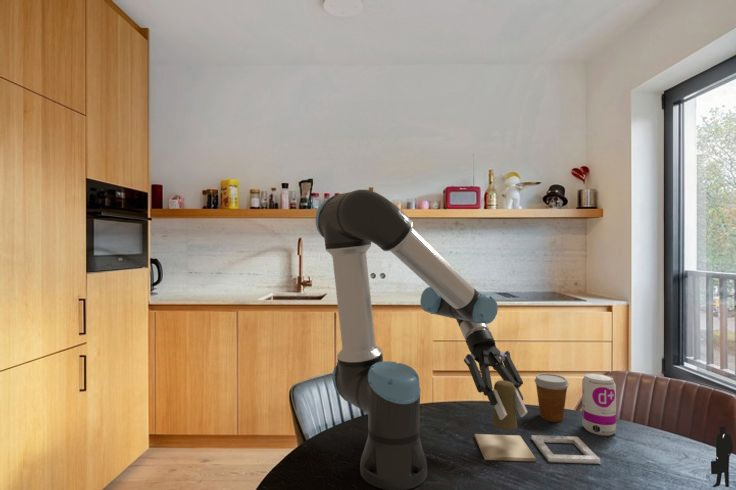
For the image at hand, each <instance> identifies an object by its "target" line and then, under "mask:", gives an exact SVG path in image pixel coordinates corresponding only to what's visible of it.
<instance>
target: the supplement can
mask: <svg viewBox="0 0 736 490" xmlns="http://www.w3.org/2000/svg"><path fill="white" fill-rule="evenodd" d="M581 381H582V382H581V385H582V386H581V389H582V390H581V395H582V396H581V399H582V400H581V401H582V402H581V403H582V405H581V406H582V410H581V411H582V413H581V414H582V415H581V416H582V418H581V420H582V421H581V423H582V427H583V428H584V429H585V430H586V431H587V432H589V433H591V434H594V435H598V436H604V437H606V436H607V437H608V436H612V435H614V434H615V433H616V432H617V393H616V391H617V389H616V388H617V384H616V383H615V381H614V378H613V377H612V376H610V375H608V374H604V373H597V372H591V373H590V372H589V373H588V372H587V373H585V374H584V376H583V378H582V379H581Z"/></svg>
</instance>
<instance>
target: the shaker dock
mask: <svg viewBox="0 0 736 490" xmlns="http://www.w3.org/2000/svg"><path fill="white" fill-rule="evenodd" d="M530 437H531V438H530V439H531V441H532V442H533V443H534V444H535V446H536V447H537V448H538V450H539V451H540V453H541V454H542V455H543V457H544V458H545V459H546V461H547V462H548V463H564V464H565V463H567V464H592V465H593V464H594V465H595V464H596V465H601V458H600V457H599V456H598V455H596V453H595V452H594V451H593V450H591V449H590V447H588V445H587V444H586V443H584V442H583V440H581V439H580V437H578V436H570V435H568V436H565V435H543V434H542V435H541V434H540V435H539V434H537V435H536V434H534V435H533V434H531V436H530ZM547 443H548V444H549V443H552V444H573V445H574V446H575V447H576V448H577V449H578V450H579V451H580V452H581V453H582V454H583V455H582V454H555V453H553V452H552V451H551V450H550V448H549V447H548V445H547Z"/></svg>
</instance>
